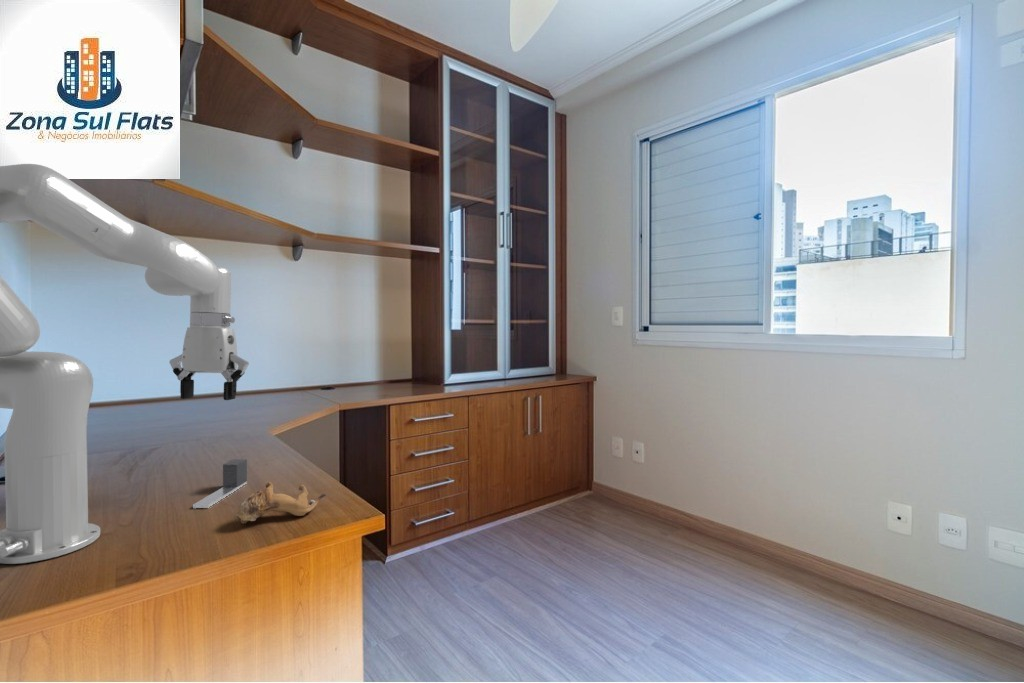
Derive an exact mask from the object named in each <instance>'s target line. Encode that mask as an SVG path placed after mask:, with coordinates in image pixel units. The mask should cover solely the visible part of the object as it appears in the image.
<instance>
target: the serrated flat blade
mask: <svg viewBox="0 0 1024 683" xmlns="http://www.w3.org/2000/svg"><path fill="white" fill-rule="evenodd" d="M247 474H248V460H247V459H245V458H244V459H239V458H238V459H237V458H236V459H234V458H233V459H231V460H229V461H227V462H225V463H223V464H222V487H221V488H219V489H218V490H215V491H214V492H212V493H211V494H209V495H207V496H205V497H203V498H202V499H200V500H199V501H196V502H195V503H193V504H192V508H193V509H194V510H195V509H196V508H209V507H210V506H212V505H213V504H215V503H217V502H218V501H220V500H221V499H223V498H225V497H226V496H228V495H229V494H231V493H233V492H234V491H236V490H237V489H239V488H240V487H242V486H243V485H245V484H247V485H248V479H247V478H248V475H247ZM239 490H240V489H239ZM236 492H237V491H236ZM233 494H234V493H233ZM231 495H232V494H231ZM228 497H229V496H228ZM225 499H226V498H225ZM223 500H224V499H223ZM220 502H221V501H220ZM218 503H219V502H218ZM218 503H217V504H218ZM215 505H216V504H215ZM212 507H213V506H212ZM210 508H211V507H210ZM210 508H209V509H210ZM196 510H197V509H196Z"/></svg>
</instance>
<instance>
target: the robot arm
mask: <svg viewBox="0 0 1024 683" xmlns="http://www.w3.org/2000/svg"><path fill="white" fill-rule="evenodd" d="M22 221H23V222H24V221H31V222H34V223H36V224H38V225H39V226H41V227H43V228H45V229H47V230H49V231H50V232H52V233H54V234H56V235H58V236H60V237H62V239H63V238H64V239H65V240H67V241H69V242H71V243H73V244H75V245H76V246H78V247H80V248H82V249H83V250H85V251H87V252H88V253H90V254H92V255H94V256H96V257H100V258H103V259H106V260H111V261H115V262H117V263H118V262H120V263H125V264H131V265H136V266H140V267H144V268H146V269H145V273H144V279H145V282H146V285H147V286H148V287H149V288H150V289H152V290H153V292H156V293H158V294H160V295H164V296H175V297H177V296H178V297H179V296H180V297H181V296H183V297H184V296H189V297H190V300H189V301H190V305H189V307H190V308H189V327H187V328H186V331H185V335H184V339H183V346H182V353H181V354H179V355H177V356H175V357H174V358H172V359H169V365H170V367H171V369H172V373H173V374H174V375H175V376H176V377H177V380H178V381H180V382H179V383H180V387H179V388H180V389H179V390H180V391H179V393H180V399H182V400H184V399H185V400H186V399H190V398H194V397H195V396H194V395H195V394H194V392H195V380H194V379H192V378H193V377H194V376H195V375H196V373H200V374H201V373H202V374H205V373H206V374H221V375H222V377H223V378H224V379H225V380H226V381H224V382H223V400H224V401H230V400H235V399H236V395H237V382H238V381H240V379H241V377H243V375H245V372H246V370H247V368H248V366H249V365H250V364H249V361H247V360H245V359H243V358H242V357H241V356H238V346H237V338H236V333H235V329H234V328H231V324H234V323H235V321H236V319H235V317H233V316H231V300H232V297H231V294H232V293H231V291H232V273H231V270H230V269H228V268H227V267H224V266H219V265H216V264H215V262H214V261H213V260H211V259H210V258H209V257H208V256H207V255H205V254H204V253H202V252H201V251H199V250H198V249H196V248H195V247H194V246H192V245H191V244H189V243H187V242H185V241H183V239H180V238H177V237H176V236H174V235H173V236H172V235H171V234H168V233H166V232H162V231H161V230H158V229H155V228H153V227H151V226H149V225H147V224H144V223H141V222H139V221H136V220H133V219H131V218H129V217H127V216H125V215H123V214H122V213H120V212H119V211H118V210H116V209H115V208H113V207H111V206H110V205H109V204H106V203H105V202H104V201H102V200H101V199H99V198H98V197H96V196H95V195H93V194H92V193H90V192H89V191H87V190H86V189H84V188H83V187H81V186H79V185H78V184H76V183H75V182H74V181H72V180H71V179H69V178H67V177H66V176H64V175H63V174H61V173H60V172H58V171H56V170H54V169H53V168H50V167H48V166H46V165H45V166H44V165H41V164H36V163H18V164H10V165H0V223H7V222H8V223H9V222H22ZM40 334H41V327H40V324H39V322H38V319H37V318H36V316H35V315H34V314H33V312H32V311H31V310H30V309H29V308H28V306H27V305H26V304H25V303H24V302H23V301H22V300H21V298H20V297H19V296H18V295H17V293H16V292H15V291H14V290H13V289H12V288H11V286H10V285H9V284H8V283H7V282H6V281H5V280H4V278H3V277H2V276H1V275H0V409H7V410H8V409H10V410H12V413H11V416H10V418H9V421H8V424H7V427H6V430H5V434H4V442H3V449H4V450H3V451H4V452H3V453H4V479H5V481H4V484H5V485H4V486H5V487H4V489H5V493H4V494H5V524H6V525H5V528H4V529H0V564H4V565H5V564H6V565H16V564H19V565H20V564H27V563H34V562H39V561H40V562H41V561H44V560H49V559H53V558H57V557H61V556H65V555H67V554H70V553H73V552H75V551H77V550H80V549H83V548H85V547H86V546H89V545H91V544H92V543H94V542H95V541H96V540H98V538H100V536H101V527H100V526H99V525H97V524H96V523H95V524H94V523H92V522H91V523H89V506H88V505H89V501H88V500H89V499H88V497H89V495H88V488H89V487H88V447H87V446H88V444H87V443H88V442H87V438H88V437H87V434H88V433H87V432H88V431H87V428H88V415H89V414H88V413H89V409H90V404H91V400H92V395H93V390H94V377H93V374H92V372H91V370H90V369H89V367H88V366H87V364H86V363H84V362H83V361H82V360H81V359H79V358H77V357H74V356H73V355H69V354H66V353H61V352H56V351H54V352H51V351H28V350H30V349H32V347H34V346H35V344H37V342H38V341H39V338H40Z"/></svg>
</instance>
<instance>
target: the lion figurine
mask: <svg viewBox="0 0 1024 683" xmlns="http://www.w3.org/2000/svg"><path fill="white" fill-rule="evenodd" d="M298 490H299V491H300V492H302V493H300V494H299V495H298V496H297V498H294V497H292V496H290V495H288V494H285V493H275V492H274V484H273V483H272V482H270V481H269V482H266V484H265V490H258V491H257V492H253V493H251V494H250V495H249V496H248V497H246V498H245V500H243V501H242V502H241V503H240V504H239V505H238V507H237V508H238V509H237V512H236V514H235V516H237V517H239V518H240V523H241V524H242V525H243V524H244V523H245V524H247V523H248V522H254V521H255V522H256V520H257V518H259V517H261V516H262V515H264V514H266V513H267V512H270V511H272V512H279V513H280V512H281V513H283V512H284V513H289V514H291V515H293V516H295V517H296V516H297V517H302V516H303V517H304V516H305V515H307V513H309V512H311V511H312V510H314V509H315V508H316V506H317V504H318V503H319V501H321V499H322V498H325V497H326V496H327V493H323V494H320V496H319V497H318V498H317V499H316V500H314V499H311V500H308V495H309V492H308V490H307V487H306V486H305V485H304V484H300V485H299V486H298Z"/></svg>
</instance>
